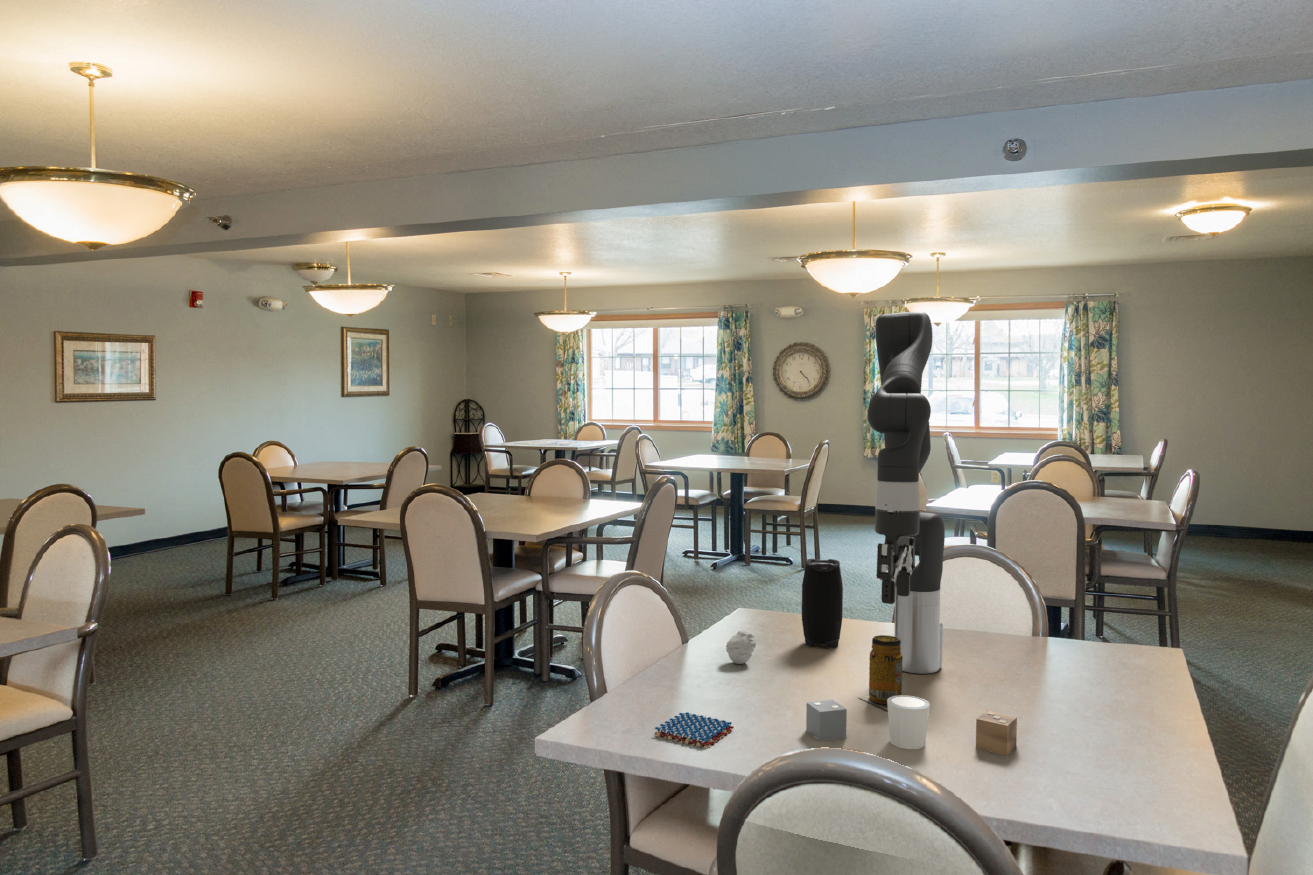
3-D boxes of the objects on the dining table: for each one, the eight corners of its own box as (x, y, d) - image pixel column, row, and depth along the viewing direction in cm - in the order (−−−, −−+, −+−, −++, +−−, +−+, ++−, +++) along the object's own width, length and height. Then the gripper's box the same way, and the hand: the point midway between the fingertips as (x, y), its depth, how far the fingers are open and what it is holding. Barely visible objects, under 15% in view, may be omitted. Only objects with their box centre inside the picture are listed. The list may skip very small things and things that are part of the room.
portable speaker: (794, 641, 211) (795, 559, 210) (828, 637, 215) (829, 556, 214) (814, 651, 203) (815, 565, 203) (849, 647, 207) (850, 562, 206)
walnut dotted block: (985, 739, 152) (986, 709, 152) (1016, 746, 149) (1017, 716, 149) (975, 748, 148) (976, 718, 148) (1006, 756, 145) (1007, 725, 145)
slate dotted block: (832, 727, 157) (832, 698, 157) (846, 738, 152) (846, 708, 152) (806, 730, 156) (806, 701, 156) (819, 741, 151) (820, 711, 151)
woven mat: (707, 752, 147) (707, 740, 147) (652, 739, 153) (652, 727, 153) (736, 732, 156) (736, 720, 156) (683, 720, 162) (683, 709, 161)
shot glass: (880, 735, 153) (881, 694, 153) (919, 734, 154) (920, 693, 154) (894, 751, 147) (895, 708, 146) (935, 749, 147) (936, 707, 147)
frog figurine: (762, 664, 194) (762, 632, 193) (737, 669, 190) (737, 636, 190) (744, 657, 199) (744, 626, 198) (719, 662, 195) (719, 630, 195)
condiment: (887, 692, 176) (888, 631, 175) (918, 706, 168) (919, 642, 167) (857, 698, 172) (858, 636, 172) (887, 712, 165) (888, 647, 164)
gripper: (889, 503, 166) (887, 591, 166) (863, 508, 154) (861, 603, 154) (930, 505, 162) (928, 595, 162) (906, 511, 150) (905, 608, 150)
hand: (895, 599), depth 158 cm, fingers open, 8 cm apart
